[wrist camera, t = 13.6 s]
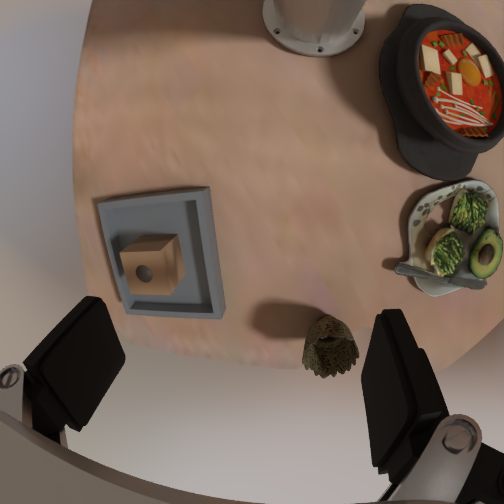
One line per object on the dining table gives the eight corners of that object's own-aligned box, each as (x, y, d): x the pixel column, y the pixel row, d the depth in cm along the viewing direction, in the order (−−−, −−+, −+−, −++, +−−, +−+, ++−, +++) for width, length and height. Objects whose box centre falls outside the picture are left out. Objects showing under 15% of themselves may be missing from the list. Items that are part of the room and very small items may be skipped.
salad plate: (394, 310, 40) (403, 328, 36) (379, 197, 34) (390, 206, 30) (492, 278, 36) (505, 291, 31) (490, 171, 30) (508, 177, 25)
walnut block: (140, 236, 40) (119, 252, 34) (178, 234, 39) (159, 251, 33) (149, 274, 42) (130, 294, 36) (185, 274, 41) (169, 295, 35)
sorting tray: (108, 198, 39) (97, 203, 36) (209, 186, 36) (202, 191, 34) (134, 304, 45) (126, 314, 43) (225, 307, 43) (221, 319, 40)
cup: (291, 322, 43) (290, 358, 35) (329, 293, 40) (335, 327, 33) (323, 349, 44) (326, 385, 36) (359, 323, 41) (369, 358, 34)
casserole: (477, 192, 31) (511, 208, 23) (363, 160, 33) (384, 168, 25) (487, 39, 21) (518, 28, 14) (376, -9, 23) (393, -36, 15)
